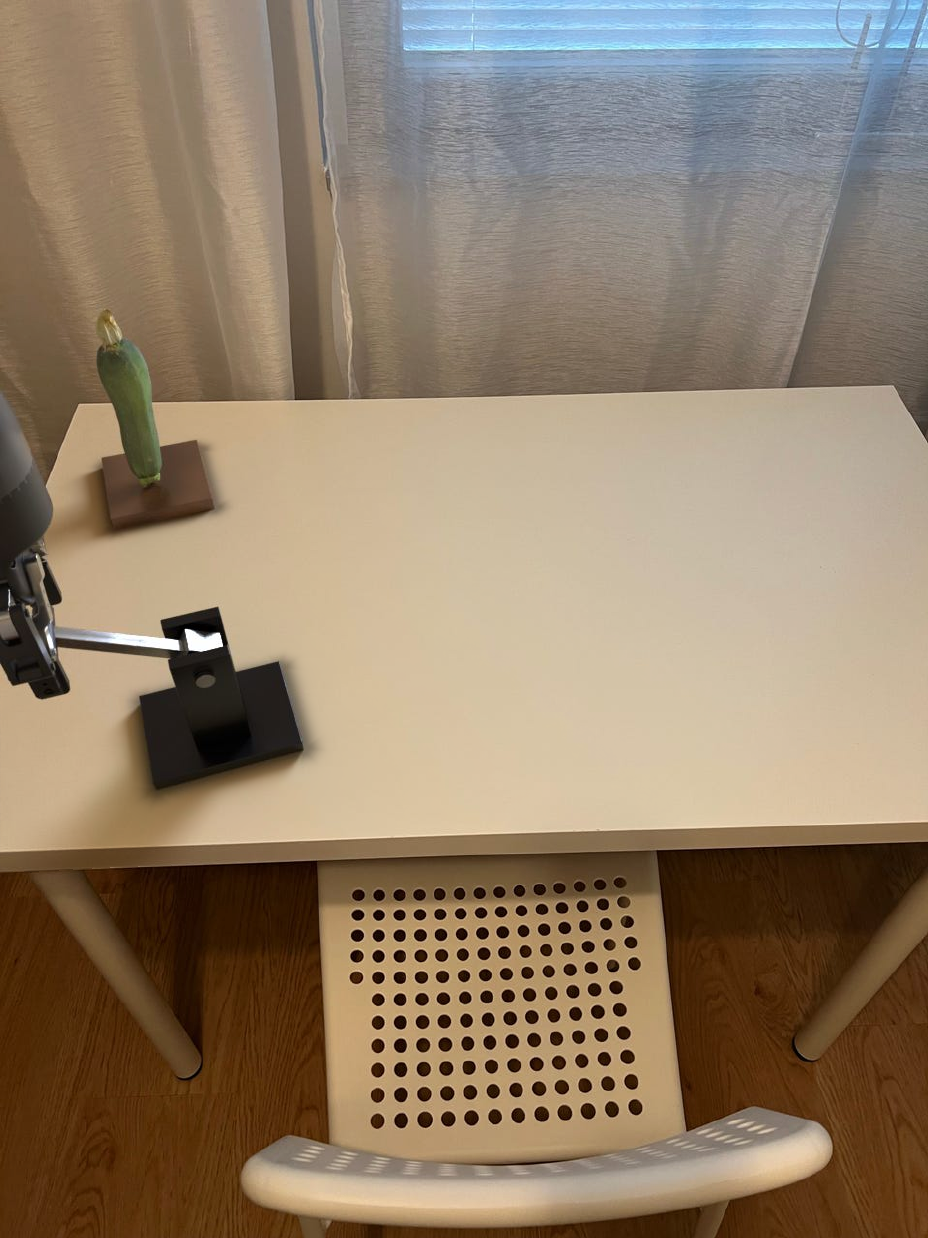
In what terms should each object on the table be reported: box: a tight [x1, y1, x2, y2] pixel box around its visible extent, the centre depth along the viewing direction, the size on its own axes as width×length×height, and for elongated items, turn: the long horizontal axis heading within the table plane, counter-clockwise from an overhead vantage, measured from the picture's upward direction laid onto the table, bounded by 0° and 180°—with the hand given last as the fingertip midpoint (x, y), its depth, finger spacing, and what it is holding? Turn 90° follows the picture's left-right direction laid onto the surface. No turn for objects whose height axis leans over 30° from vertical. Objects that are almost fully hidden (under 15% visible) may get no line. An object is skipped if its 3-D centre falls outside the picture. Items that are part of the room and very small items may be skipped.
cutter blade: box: [31, 605, 223, 660], centre depth 68 cm, size 13×5×2 cm
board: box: [101, 439, 216, 530], centre depth 98 cm, size 10×10×2 cm
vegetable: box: [95, 308, 162, 488], centre depth 89 cm, size 4×4×20 cm
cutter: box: [138, 606, 305, 791], centre depth 74 cm, size 12×9×12 cm
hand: (51, 646), depth 66 cm, fingers open, 8 cm apart
